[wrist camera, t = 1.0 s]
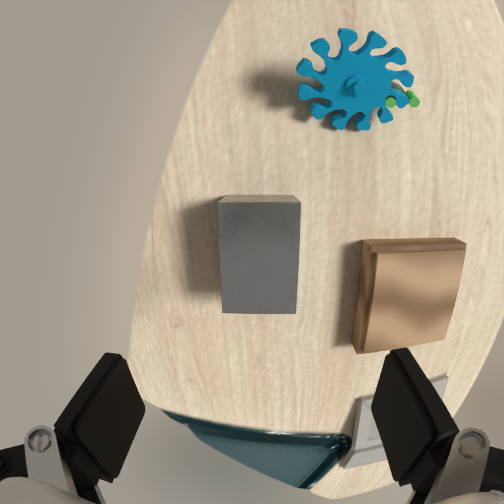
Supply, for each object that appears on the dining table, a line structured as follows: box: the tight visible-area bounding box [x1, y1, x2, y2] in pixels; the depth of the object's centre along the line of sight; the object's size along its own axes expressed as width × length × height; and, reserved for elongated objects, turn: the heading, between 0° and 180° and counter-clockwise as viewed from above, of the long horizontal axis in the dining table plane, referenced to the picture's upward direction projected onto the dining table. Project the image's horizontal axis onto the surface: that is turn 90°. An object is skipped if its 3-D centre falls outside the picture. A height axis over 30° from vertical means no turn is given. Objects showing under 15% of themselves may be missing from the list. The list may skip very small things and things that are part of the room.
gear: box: [296, 28, 420, 130], centre depth 19 cm, size 11×6×10 cm
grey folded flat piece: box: [342, 373, 448, 469], centre depth 34 cm, size 23×15×4 cm, turn 6°
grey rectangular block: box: [217, 195, 301, 314], centre depth 24 cm, size 9×6×6 cm, turn 1°
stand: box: [351, 238, 466, 354], centre depth 25 cm, size 12×12×3 cm
